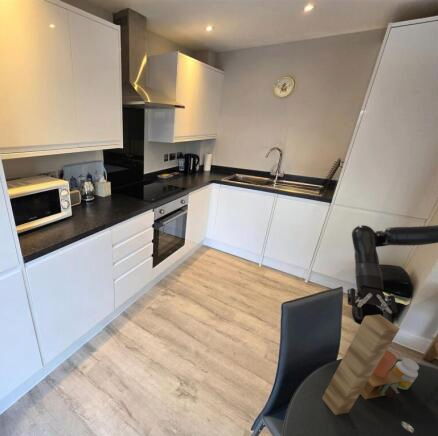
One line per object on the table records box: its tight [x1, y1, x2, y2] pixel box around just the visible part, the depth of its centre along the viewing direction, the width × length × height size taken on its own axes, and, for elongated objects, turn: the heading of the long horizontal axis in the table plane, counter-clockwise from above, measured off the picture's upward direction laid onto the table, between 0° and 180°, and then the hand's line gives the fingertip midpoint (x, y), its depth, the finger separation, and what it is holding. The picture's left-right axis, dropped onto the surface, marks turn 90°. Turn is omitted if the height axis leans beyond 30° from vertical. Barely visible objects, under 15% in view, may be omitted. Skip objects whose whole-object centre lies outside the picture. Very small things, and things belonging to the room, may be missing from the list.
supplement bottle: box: [392, 357, 420, 390], centre depth 84 cm, size 5×5×10 cm
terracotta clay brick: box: [373, 349, 398, 378], centre depth 80 cm, size 4×4×8 cm
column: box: [321, 313, 401, 416], centre depth 71 cm, size 5×5×35 cm
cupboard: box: [359, 368, 403, 400], centre depth 83 cm, size 12×7×7 cm, turn 101°
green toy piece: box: [380, 382, 400, 401], centre depth 79 cm, size 5×3×5 cm, turn 101°
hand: (373, 321), depth 86 cm, fingers open, 8 cm apart
